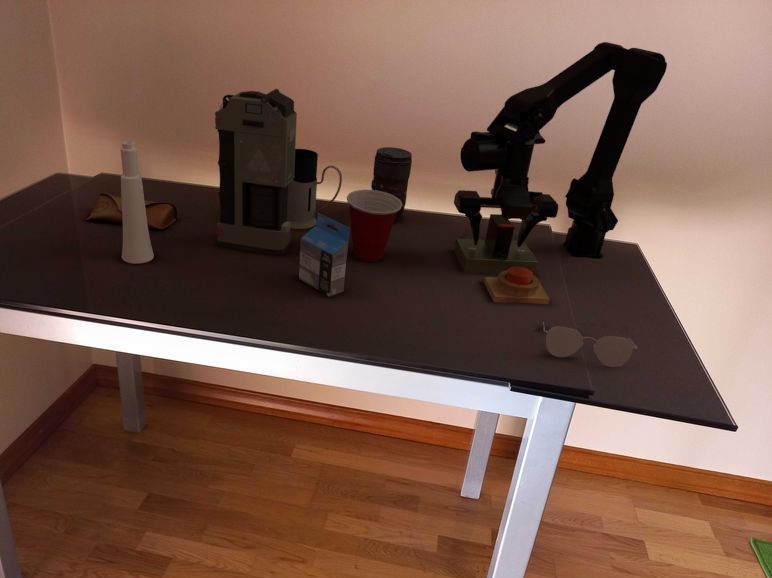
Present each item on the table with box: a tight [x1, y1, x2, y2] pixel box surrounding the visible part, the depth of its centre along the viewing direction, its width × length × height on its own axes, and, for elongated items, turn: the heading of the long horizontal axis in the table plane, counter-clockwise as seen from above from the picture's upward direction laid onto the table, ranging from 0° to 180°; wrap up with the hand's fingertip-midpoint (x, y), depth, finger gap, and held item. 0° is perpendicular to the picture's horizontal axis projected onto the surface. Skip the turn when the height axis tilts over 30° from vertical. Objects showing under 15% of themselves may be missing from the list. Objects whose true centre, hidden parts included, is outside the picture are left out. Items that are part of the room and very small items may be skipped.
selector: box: [484, 213, 515, 257], centre depth 136 cm, size 7×3×6 cm, turn 0°
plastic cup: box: [346, 189, 403, 263], centre depth 136 cm, size 11×11×12 cm
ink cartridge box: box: [298, 212, 351, 297], centre depth 124 cm, size 9×4×12 cm, turn 40°
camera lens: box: [370, 146, 413, 223], centre depth 154 cm, size 8×8×15 cm
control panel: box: [453, 238, 539, 276], centre depth 138 cm, size 14×11×3 cm
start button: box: [506, 267, 534, 285], centre depth 126 cm, size 4×4×2 cm
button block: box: [483, 270, 551, 305], centre depth 128 cm, size 10×8×3 cm
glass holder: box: [287, 148, 343, 230], centre depth 149 cm, size 9×14×15 cm, turn 64°
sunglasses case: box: [85, 192, 178, 231], centre depth 149 cm, size 18×7×7 cm, turn 78°
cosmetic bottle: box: [120, 140, 155, 265], centre depth 128 cm, size 6×6×22 cm
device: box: [214, 88, 298, 256], centre depth 133 cm, size 14×8×30 cm, turn 74°
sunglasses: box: [542, 321, 638, 368], centre depth 112 cm, size 14×8×5 cm, turn 73°
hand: (496, 245), depth 137 cm, fingers open, 8 cm apart
